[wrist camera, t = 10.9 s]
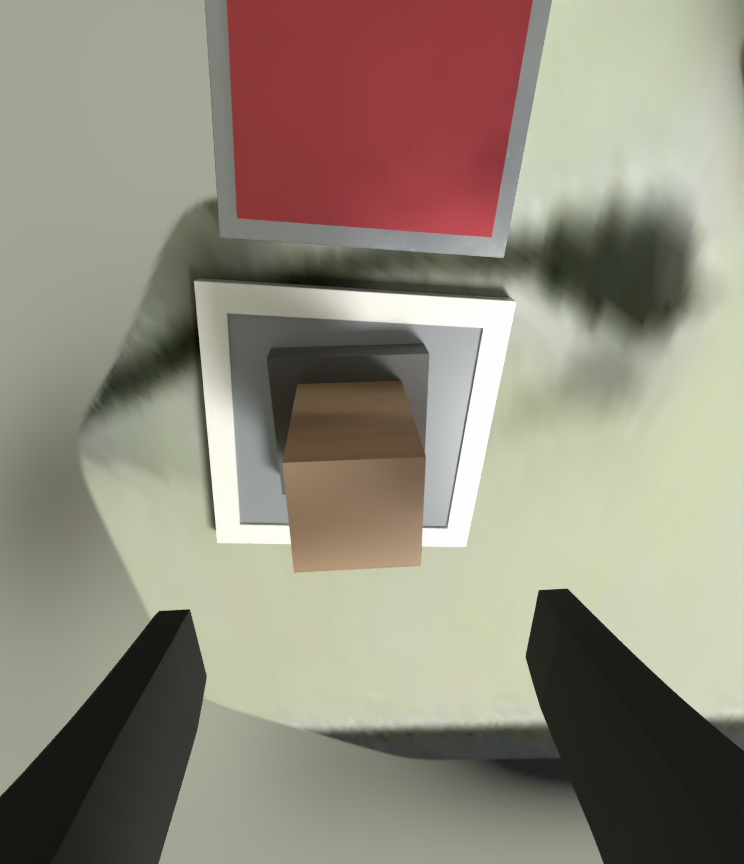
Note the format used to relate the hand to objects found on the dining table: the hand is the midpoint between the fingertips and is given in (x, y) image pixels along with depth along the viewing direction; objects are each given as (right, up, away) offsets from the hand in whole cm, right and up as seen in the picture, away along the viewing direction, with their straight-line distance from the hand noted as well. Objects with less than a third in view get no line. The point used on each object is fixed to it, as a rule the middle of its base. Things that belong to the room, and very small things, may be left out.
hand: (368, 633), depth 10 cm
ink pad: (0, +15, +4) cm, 15 cm away
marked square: (-1, +4, +9) cm, 10 cm away
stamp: (-1, +5, +9) cm, 10 cm away
